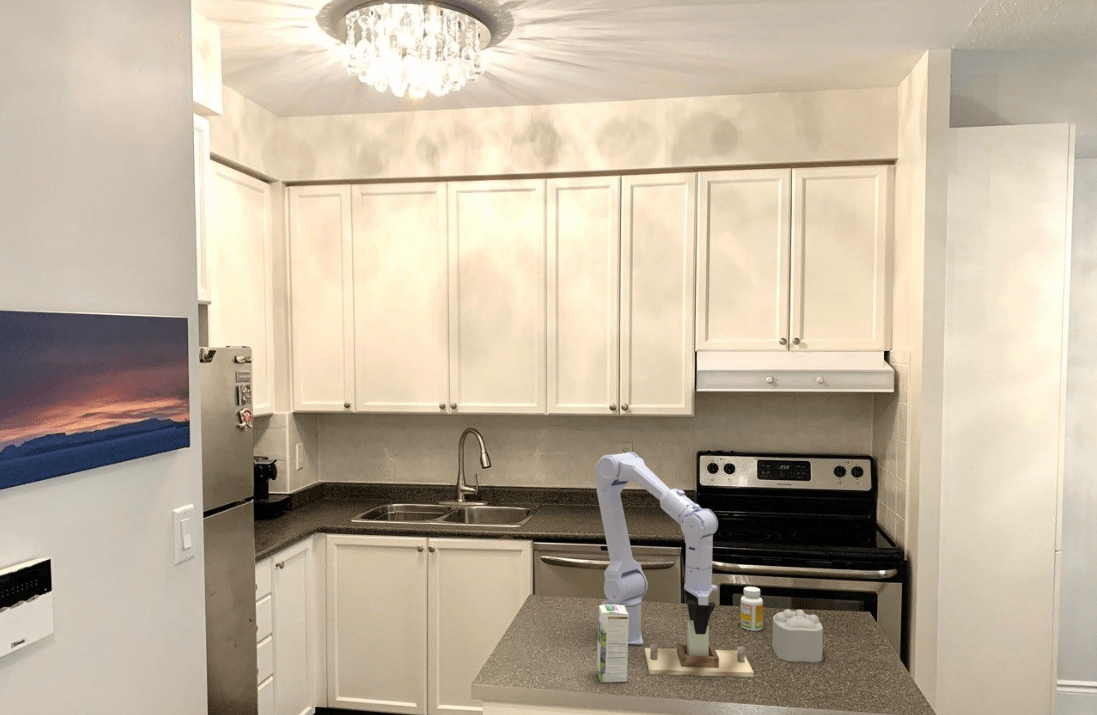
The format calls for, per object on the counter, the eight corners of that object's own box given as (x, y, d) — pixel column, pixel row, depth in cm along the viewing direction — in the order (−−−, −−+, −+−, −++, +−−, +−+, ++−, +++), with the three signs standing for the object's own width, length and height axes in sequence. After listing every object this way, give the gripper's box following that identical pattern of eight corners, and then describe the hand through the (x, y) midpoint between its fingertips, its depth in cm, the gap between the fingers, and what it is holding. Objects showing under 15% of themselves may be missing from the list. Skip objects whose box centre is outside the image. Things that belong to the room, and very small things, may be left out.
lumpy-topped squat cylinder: (778, 661, 175) (779, 622, 175) (767, 639, 188) (768, 603, 188) (826, 663, 174) (827, 624, 174) (812, 641, 187) (812, 605, 187)
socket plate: (649, 674, 167) (649, 655, 167) (644, 652, 179) (645, 634, 179) (753, 677, 166) (754, 658, 166) (742, 655, 178) (742, 637, 178)
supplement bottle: (760, 624, 198) (761, 586, 198) (764, 632, 193) (764, 592, 193) (738, 623, 199) (739, 585, 199) (741, 630, 194) (742, 591, 193)
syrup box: (596, 671, 168) (597, 604, 168) (623, 671, 169) (624, 603, 168) (600, 683, 162) (601, 613, 162) (628, 682, 163) (629, 612, 163)
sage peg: (689, 663, 171) (690, 626, 171) (687, 656, 175) (687, 620, 175) (708, 663, 171) (708, 627, 170) (705, 656, 175) (705, 620, 174)
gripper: (723, 575, 165) (722, 640, 165) (711, 557, 179) (710, 616, 180) (689, 575, 165) (688, 639, 165) (680, 556, 180) (679, 615, 180)
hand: (697, 627), depth 173 cm, fingers open, 7 cm apart
